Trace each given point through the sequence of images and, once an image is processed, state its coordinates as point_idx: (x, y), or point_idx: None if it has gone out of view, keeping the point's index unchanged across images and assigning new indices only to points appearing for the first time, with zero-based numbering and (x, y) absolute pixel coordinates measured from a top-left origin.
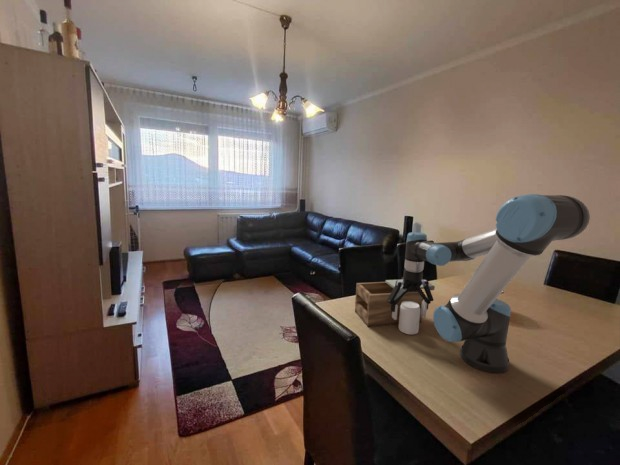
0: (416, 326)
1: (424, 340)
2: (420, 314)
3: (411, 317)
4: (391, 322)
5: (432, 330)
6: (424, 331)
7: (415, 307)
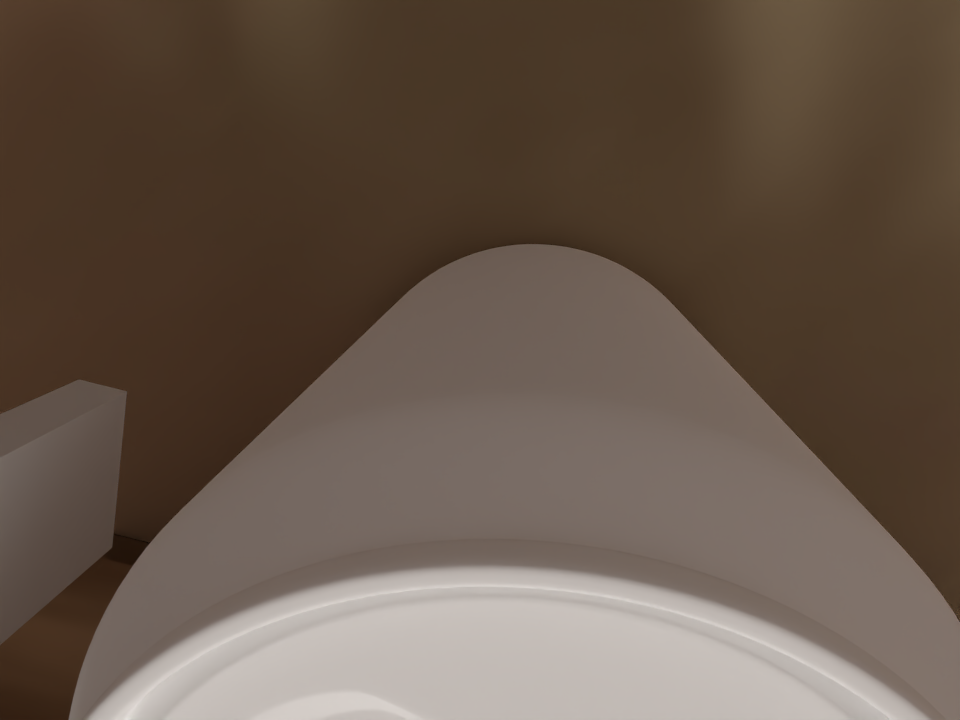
0: (514, 266)
1: (512, 14)
2: (19, 640)
3: (740, 383)
4: None
5: (92, 251)
6: (260, 282)
7: (481, 665)
